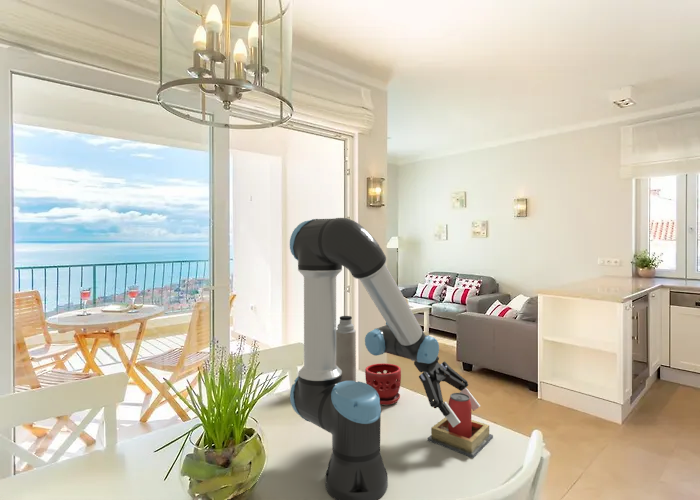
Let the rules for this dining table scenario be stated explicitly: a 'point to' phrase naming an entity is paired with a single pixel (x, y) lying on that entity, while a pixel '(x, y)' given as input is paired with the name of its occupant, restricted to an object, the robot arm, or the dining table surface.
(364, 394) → the robot arm
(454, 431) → the beer can
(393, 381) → the plant pot
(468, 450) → the frame
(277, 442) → the dining table surface
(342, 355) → the thermos bottle
